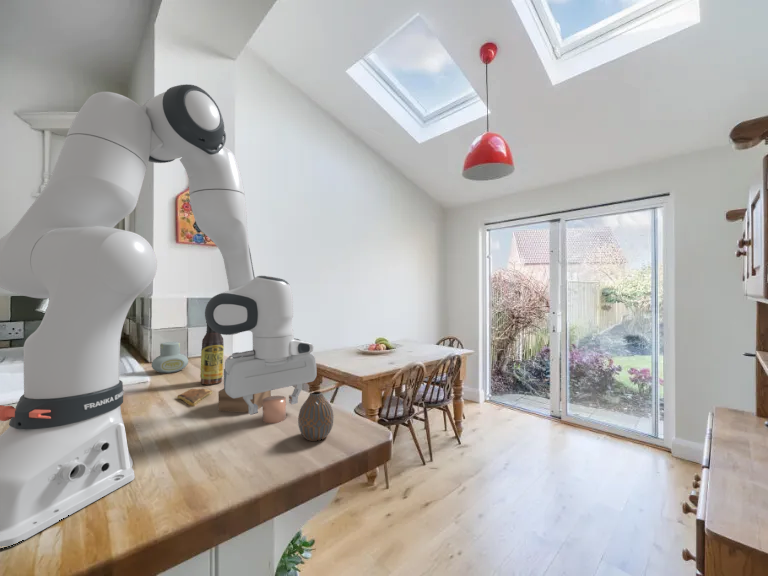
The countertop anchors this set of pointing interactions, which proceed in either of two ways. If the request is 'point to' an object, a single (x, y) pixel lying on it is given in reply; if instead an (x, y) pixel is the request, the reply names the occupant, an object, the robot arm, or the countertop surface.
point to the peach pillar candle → (274, 409)
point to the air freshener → (169, 358)
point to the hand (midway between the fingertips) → (274, 408)
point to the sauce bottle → (212, 357)
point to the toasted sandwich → (194, 396)
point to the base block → (239, 401)
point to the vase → (315, 417)
